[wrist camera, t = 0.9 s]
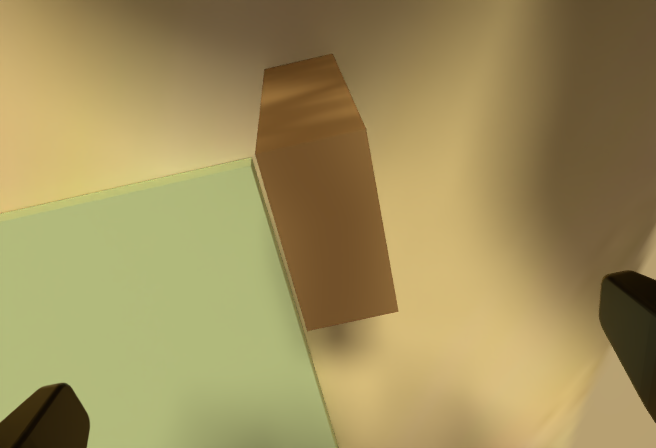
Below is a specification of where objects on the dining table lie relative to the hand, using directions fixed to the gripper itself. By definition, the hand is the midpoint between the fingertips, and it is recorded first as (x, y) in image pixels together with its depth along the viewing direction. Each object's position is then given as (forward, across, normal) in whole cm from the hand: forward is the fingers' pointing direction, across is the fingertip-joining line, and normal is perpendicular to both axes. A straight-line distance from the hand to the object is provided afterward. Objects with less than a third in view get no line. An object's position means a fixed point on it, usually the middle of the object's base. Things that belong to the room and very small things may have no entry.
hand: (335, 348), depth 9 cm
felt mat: (+12, +10, +10) cm, 18 cm away
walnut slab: (+12, 0, 0) cm, 12 cm away
